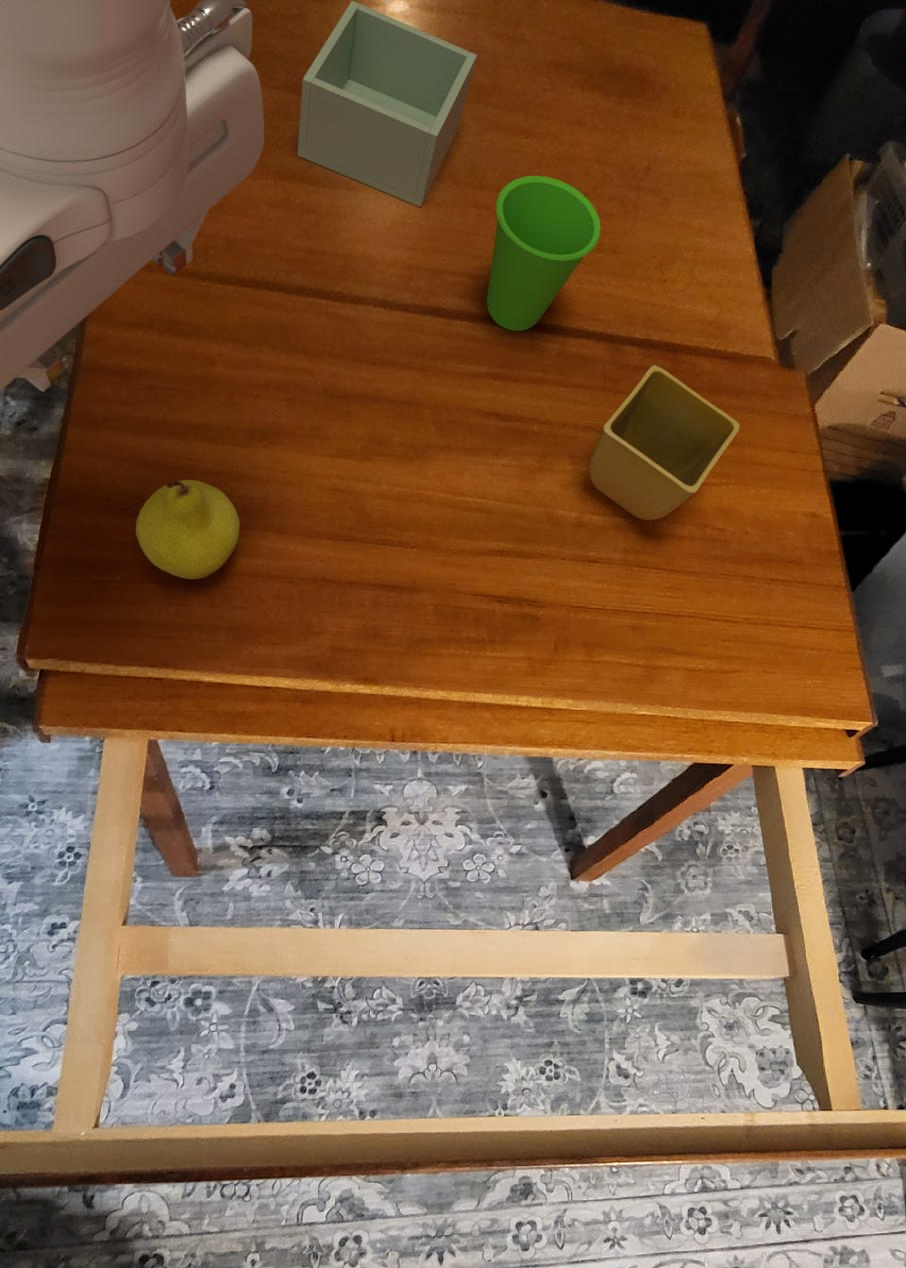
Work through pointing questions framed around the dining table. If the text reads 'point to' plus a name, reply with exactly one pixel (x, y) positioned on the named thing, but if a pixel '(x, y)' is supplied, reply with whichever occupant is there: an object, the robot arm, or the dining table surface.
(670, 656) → the dining table surface
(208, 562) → the fruit
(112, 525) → the dining table surface
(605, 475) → the flower pot
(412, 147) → the bin
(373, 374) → the dining table surface
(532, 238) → the cup
